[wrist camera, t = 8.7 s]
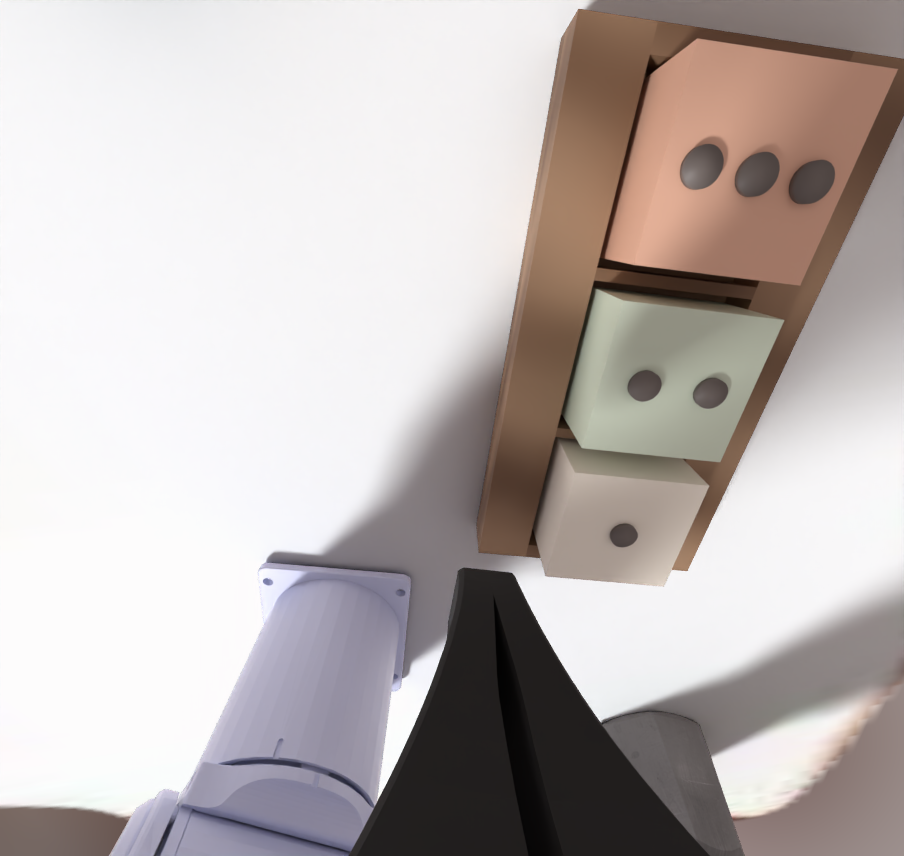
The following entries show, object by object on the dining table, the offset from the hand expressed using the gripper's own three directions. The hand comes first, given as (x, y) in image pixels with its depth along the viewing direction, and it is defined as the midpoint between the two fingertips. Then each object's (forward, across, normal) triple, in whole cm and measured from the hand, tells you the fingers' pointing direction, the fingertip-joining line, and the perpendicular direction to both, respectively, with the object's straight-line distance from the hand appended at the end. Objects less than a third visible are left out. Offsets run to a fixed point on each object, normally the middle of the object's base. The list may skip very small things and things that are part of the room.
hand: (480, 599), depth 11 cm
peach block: (+8, -6, -11) cm, 15 cm away
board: (+9, -6, -5) cm, 12 cm away
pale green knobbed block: (+8, -6, -5) cm, 11 cm away
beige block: (+8, -6, +1) cm, 10 cm away
